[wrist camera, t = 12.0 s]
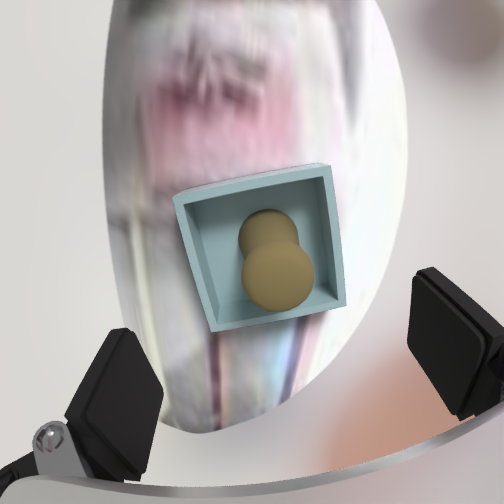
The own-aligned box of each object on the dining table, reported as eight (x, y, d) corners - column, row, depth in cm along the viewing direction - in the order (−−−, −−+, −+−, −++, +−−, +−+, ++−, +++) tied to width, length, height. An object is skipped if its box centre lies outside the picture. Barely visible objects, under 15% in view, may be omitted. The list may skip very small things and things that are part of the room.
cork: (274, 277, 31) (287, 339, 21) (226, 245, 30) (216, 297, 20) (310, 231, 30) (343, 276, 20) (261, 196, 29) (271, 224, 18)
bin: (182, 190, 29) (171, 197, 25) (318, 162, 28) (330, 165, 24) (215, 309, 33) (211, 332, 29) (334, 286, 33) (346, 305, 28)
